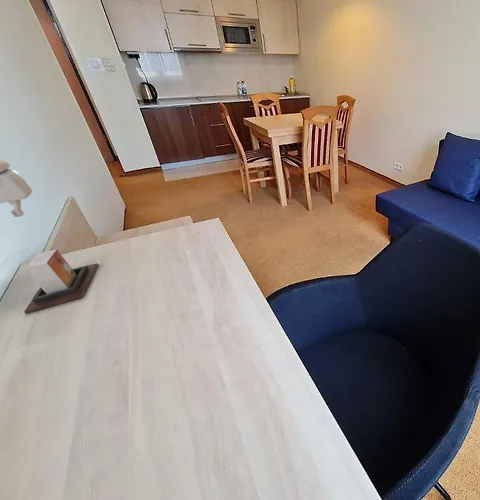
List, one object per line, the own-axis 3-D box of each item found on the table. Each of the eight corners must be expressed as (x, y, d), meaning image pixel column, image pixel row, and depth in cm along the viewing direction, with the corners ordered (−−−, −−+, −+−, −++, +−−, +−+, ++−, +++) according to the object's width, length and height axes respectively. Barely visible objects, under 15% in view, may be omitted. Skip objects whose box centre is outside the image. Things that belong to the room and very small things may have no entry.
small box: (69, 290, 92) (46, 262, 86) (47, 295, 91) (22, 268, 85) (78, 275, 98) (57, 248, 92) (57, 280, 97) (35, 253, 91)
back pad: (26, 314, 86) (19, 308, 85) (50, 277, 100) (45, 272, 99) (82, 298, 90) (77, 292, 89) (98, 265, 104) (94, 259, 102)
